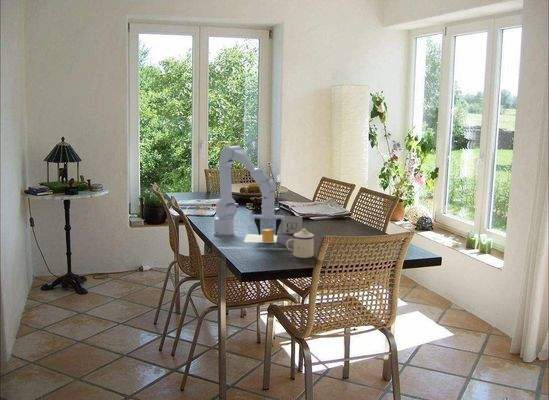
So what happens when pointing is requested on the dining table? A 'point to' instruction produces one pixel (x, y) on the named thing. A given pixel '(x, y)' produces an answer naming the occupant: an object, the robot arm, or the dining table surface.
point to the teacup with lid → (302, 244)
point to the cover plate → (257, 238)
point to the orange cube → (267, 235)
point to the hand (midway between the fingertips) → (267, 234)
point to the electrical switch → (292, 224)
